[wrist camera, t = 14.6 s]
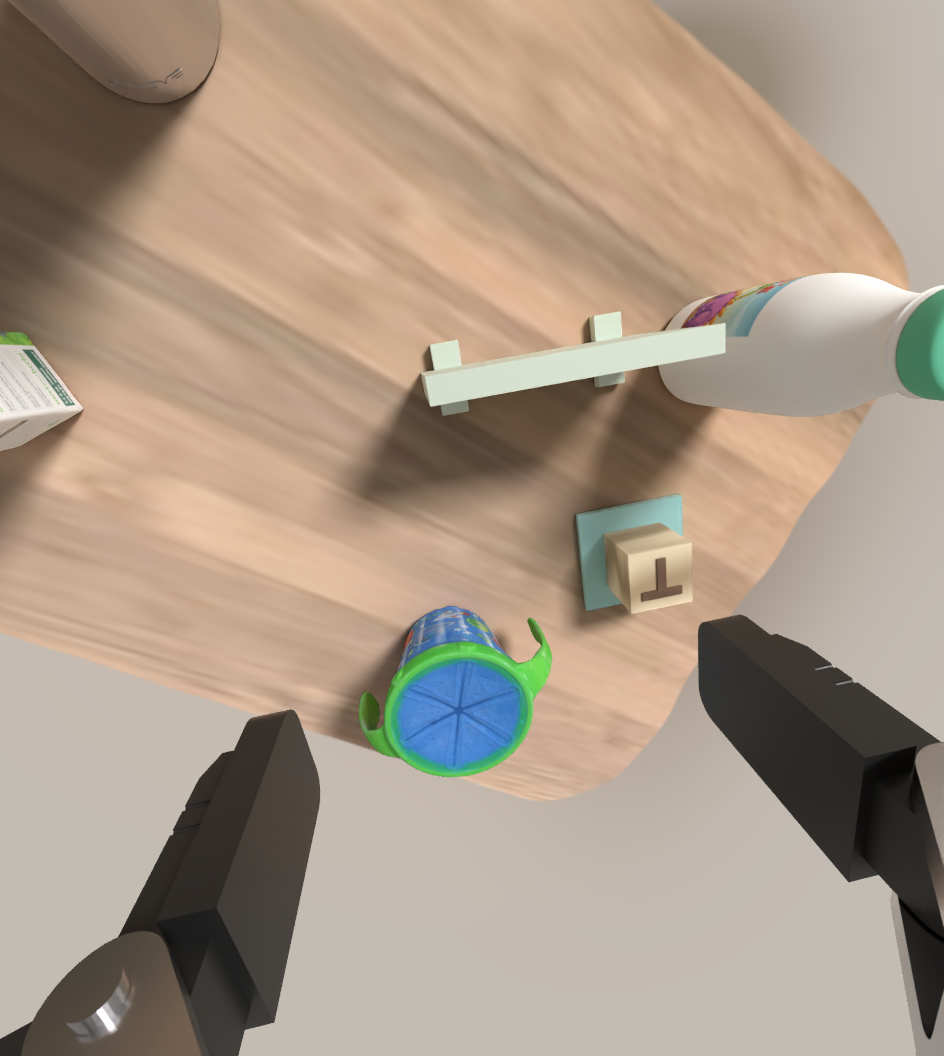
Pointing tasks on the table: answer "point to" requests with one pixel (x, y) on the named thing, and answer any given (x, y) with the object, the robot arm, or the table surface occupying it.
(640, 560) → the letter cube
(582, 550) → the pad
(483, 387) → the screen
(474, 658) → the snack cup
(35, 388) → the syrup box
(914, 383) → the milk bottle
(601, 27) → the table surface
